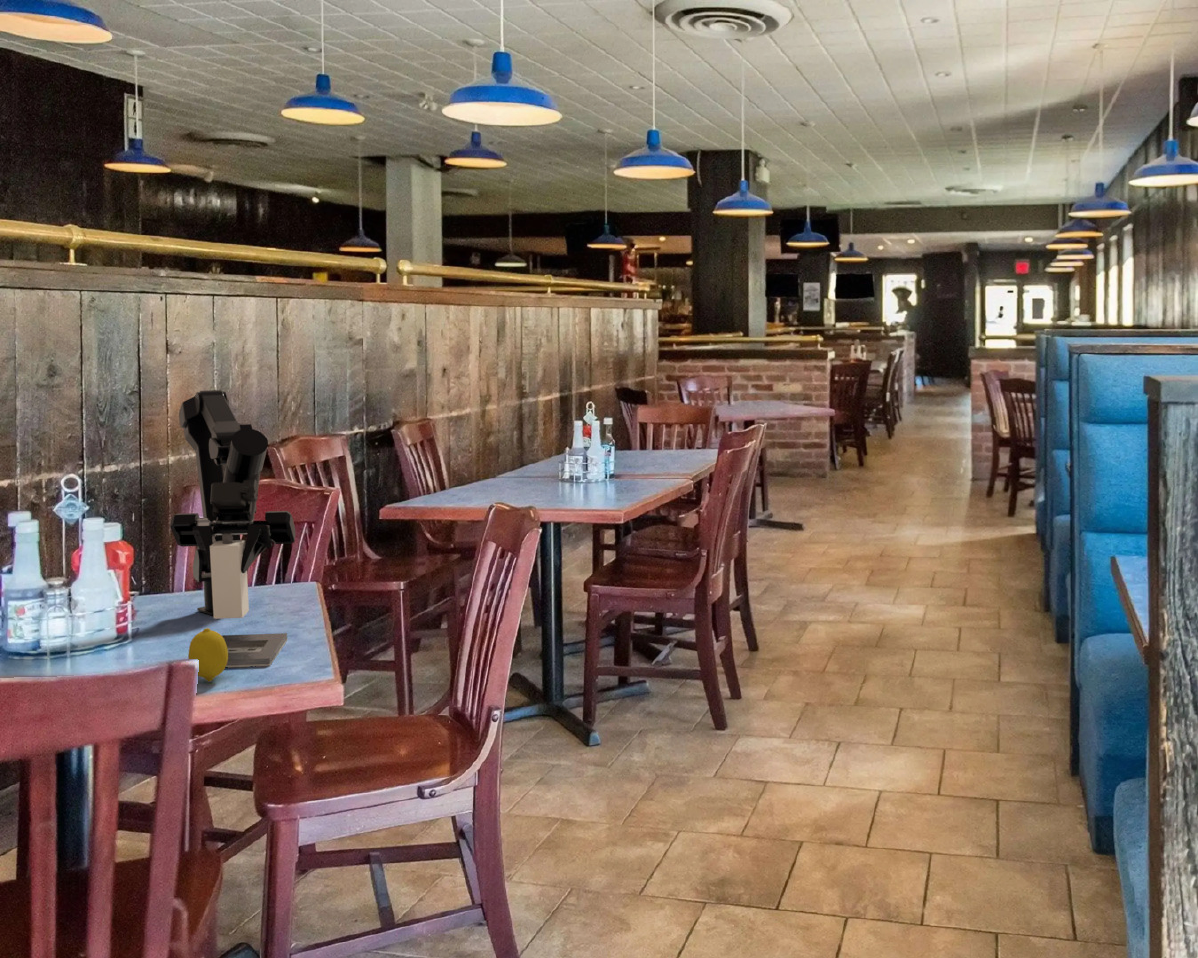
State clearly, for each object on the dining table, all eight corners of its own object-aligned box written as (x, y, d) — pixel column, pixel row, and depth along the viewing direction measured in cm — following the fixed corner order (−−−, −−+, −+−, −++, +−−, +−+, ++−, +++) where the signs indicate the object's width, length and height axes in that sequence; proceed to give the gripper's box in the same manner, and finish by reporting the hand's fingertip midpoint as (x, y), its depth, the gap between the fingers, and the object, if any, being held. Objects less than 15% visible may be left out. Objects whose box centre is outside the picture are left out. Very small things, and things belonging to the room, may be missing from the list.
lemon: (237, 677, 183) (234, 625, 182) (213, 688, 178) (210, 633, 177) (205, 675, 185) (202, 622, 184) (181, 685, 180) (178, 631, 179)
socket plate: (213, 642, 204) (213, 635, 204) (287, 640, 205) (287, 633, 205) (189, 668, 188) (189, 661, 188) (269, 665, 189) (269, 658, 189)
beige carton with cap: (221, 611, 198) (216, 531, 196) (248, 610, 198) (244, 530, 197) (213, 618, 193) (209, 536, 192) (242, 617, 193) (238, 535, 192)
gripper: (169, 463, 196) (153, 544, 187) (289, 461, 197) (279, 540, 188) (185, 505, 205) (171, 584, 195) (299, 503, 206) (290, 581, 196)
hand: (227, 572), depth 193 cm, fingers closed on beige carton with cap, 4 cm apart
